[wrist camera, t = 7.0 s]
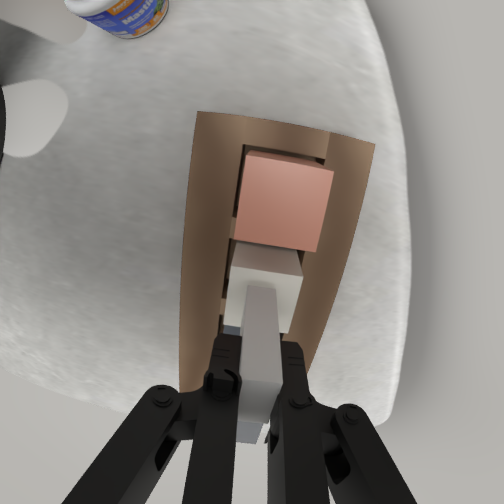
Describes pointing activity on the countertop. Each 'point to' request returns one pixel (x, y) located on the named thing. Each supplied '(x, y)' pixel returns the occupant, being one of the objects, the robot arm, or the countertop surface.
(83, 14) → the pill bottle
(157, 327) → the countertop surface
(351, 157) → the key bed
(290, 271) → the key ivory
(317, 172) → the key brick
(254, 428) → the key charcoal
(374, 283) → the countertop surface
